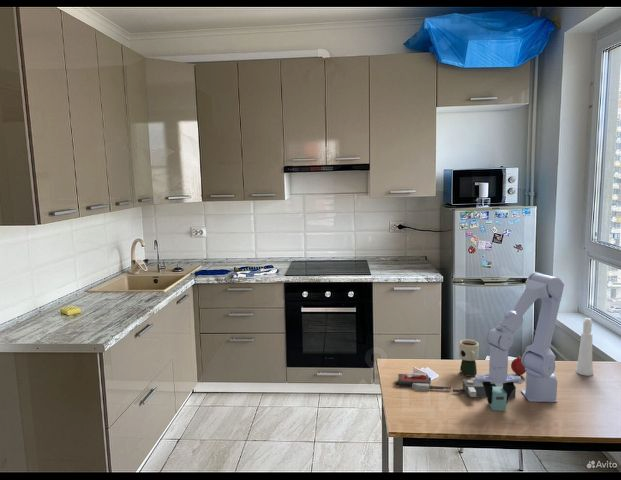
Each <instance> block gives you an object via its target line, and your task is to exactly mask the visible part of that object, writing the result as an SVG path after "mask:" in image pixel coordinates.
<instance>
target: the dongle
mask: <svg viewBox="0 0 621 480" xmlns="http://www.w3.org/2000/svg"><path fill="white" fill-rule="evenodd" d="M468 393H469V395H470V397H469V398H477V397H476V390H475V388H474V387H468Z"/></svg>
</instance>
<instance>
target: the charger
mask: <svg viewBox="0 0 621 480" xmlns="http://www.w3.org/2000/svg"><path fill="white" fill-rule="evenodd" d="M487 404H488V405H489V407H490V408H491V410H492V411H507V405H508V402H507V393H506V392H505V390H504V389H503V387H493V389H492V402H491V404H489V403H488V402H487Z"/></svg>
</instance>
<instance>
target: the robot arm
mask: <svg viewBox="0 0 621 480" xmlns="http://www.w3.org/2000/svg"><path fill="white" fill-rule="evenodd" d="M564 288H565V283H564V282H563V280H562V279H561V278H560V277H558V276H553V275H547V274H544V273H540V272H537V271H533V272H532V273H530V275H529V276H528V278H527V279H526V281H525V289H524V290H523V293H522V294H521V296H520V297H519V299H518V301H517V303H516V304H515V306H514V308H513V309H512V310H508V311H506V313H505V314H504V316H503V317H502V318H501V320H499V322H498V324H497V325H496V326H495V327H494V328H492V329H490V330H489V331H488V332H487V335H486V336H485V340H486V342H487V344H488V349H489V360H488V361H489V362H488V364H489V365H488V366H489V367H488V369H489V370H488V373H486V374H481V375H474V376H475V377H474V380H475V381H476V383H482V384H483V386H484V389H485V391H486V395H487V397H486V400H487V404H488V403H489V404H491V402H492V389H493V387H492V386H491V383H503V389H504V390H505V392H506V393H507V403H508V401H509V399H510V397H509V396H510V394H511V393H512V391H513V390H514V389H515V386H516V385H515V384H518V385H521V384H522V378H521V375H520V376H518V375H514V374H513V375H511V374H508V368H509V349H510V348H511V347H512V346H513V343H514V338H515V333H517V331H518V329H520V327H521V325H523V323H524V319H523V316H524V315H525V314H526V312H527V311H528V310H529V309H530V307H531V306H532V305H533V304H534V303H535V302H536V301H537V300H538V299H541V301H542V302H541V307H540V311H539V314H538V319H537V323H536V329H535V332H534V337H533V342H532V344H529V345H528V346H526V347H525V351H524V353H523V355H522V357H521V358H522V360H521V361H522V365H523V366H524V367H525V370H526V372H525V374H526V375H525V389H521V390H520V392H521V393H522V394H523V395H524V397H525V398H526V399H527V400H528V402H529V403H530V402H536V403H537V402H538V403H540V402H541V403H542V402H543V403H557V402H558V400H557V394H558V380H557V376H556V374H555V370H556V355H555V353H554V352H553V351H552V349H551V345H552V340H553V336H554V331H555V327H556V323H557V318H558V313H559V310H560V305H561V301H562V297H563V293H564ZM489 404H488V405H489Z"/></svg>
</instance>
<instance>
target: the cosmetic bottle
mask: <svg viewBox="0 0 621 480" xmlns="http://www.w3.org/2000/svg"><path fill="white" fill-rule="evenodd" d="M592 324H593V321H592V318H591V317H584V319H583V324H582V325H583V326H582V332H581V335H580V340H579V341H580V342H579V352H578V357H577V364H576V367H575V372H576V373H577V374H579V375H582V376H585V377H586V376H587V377H588V376H590V377H591V376H593V375H594V368H593V333H592V330H593V329H592V326H593V325H592Z"/></svg>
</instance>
